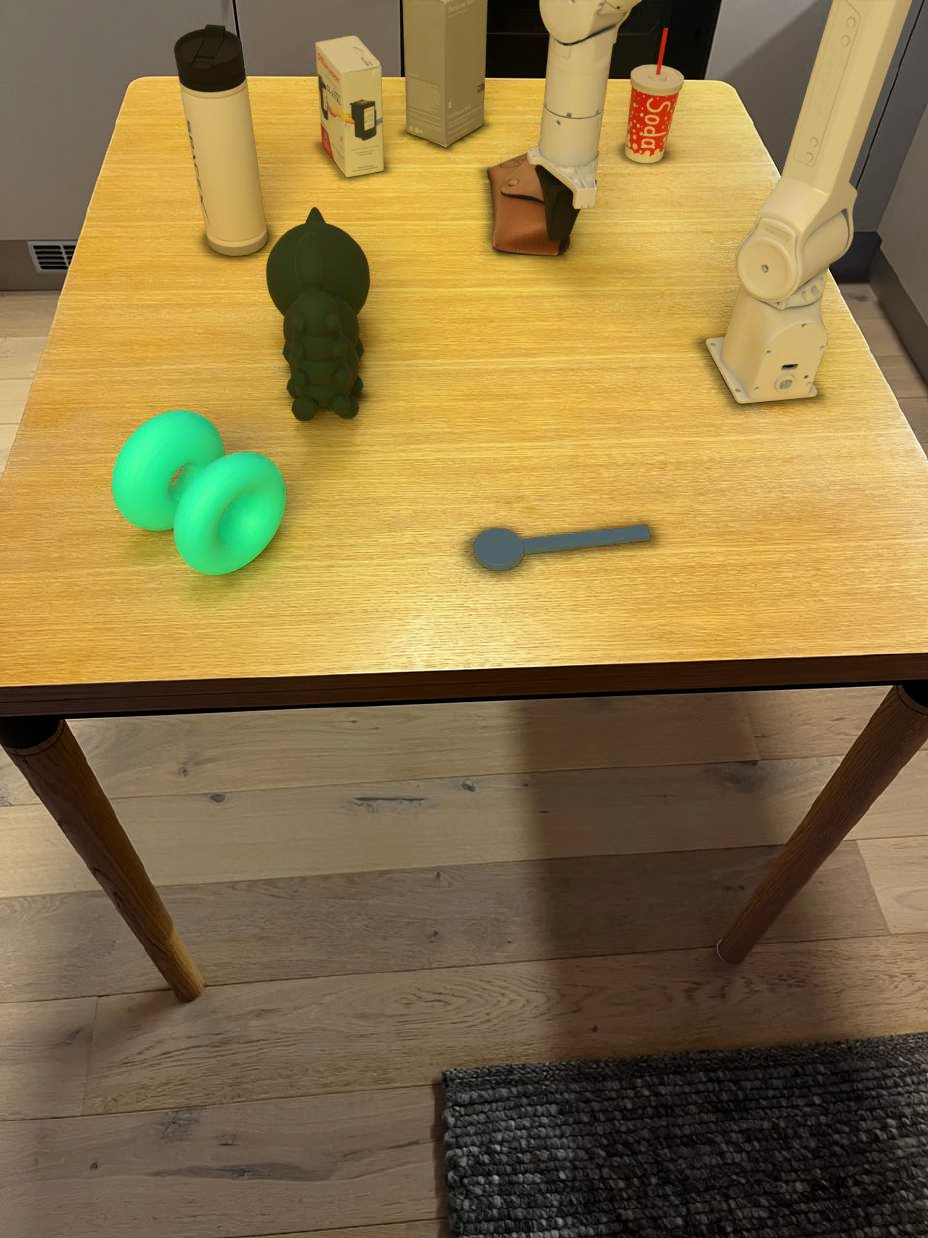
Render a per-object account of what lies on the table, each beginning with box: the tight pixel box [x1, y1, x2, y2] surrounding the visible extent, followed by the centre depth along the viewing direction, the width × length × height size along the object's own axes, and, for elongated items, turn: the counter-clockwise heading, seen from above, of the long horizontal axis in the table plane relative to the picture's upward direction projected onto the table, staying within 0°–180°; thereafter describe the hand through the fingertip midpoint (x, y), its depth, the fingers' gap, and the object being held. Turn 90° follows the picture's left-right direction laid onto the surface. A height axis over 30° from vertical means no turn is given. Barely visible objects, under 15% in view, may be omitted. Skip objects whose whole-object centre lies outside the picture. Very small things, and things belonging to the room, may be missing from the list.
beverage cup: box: [624, 27, 685, 164], centre depth 116 cm, size 6×6×14 cm
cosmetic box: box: [402, 0, 488, 148], centre depth 118 cm, size 8×7×16 cm
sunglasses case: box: [486, 152, 571, 257], centre depth 111 cm, size 18×7×7 cm
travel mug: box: [173, 23, 268, 257], centre depth 99 cm, size 6×7×20 cm
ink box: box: [314, 35, 385, 178], centre depth 114 cm, size 9×5×12 cm, turn 25°
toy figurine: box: [265, 206, 371, 422], centre depth 87 cm, size 9×19×25 cm
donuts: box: [110, 409, 287, 576], centre depth 76 cm, size 10×10×10 cm
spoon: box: [473, 524, 651, 572], centre depth 81 cm, size 4×14×1 cm, turn 100°
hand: (558, 237), depth 105 cm, fingers closed
